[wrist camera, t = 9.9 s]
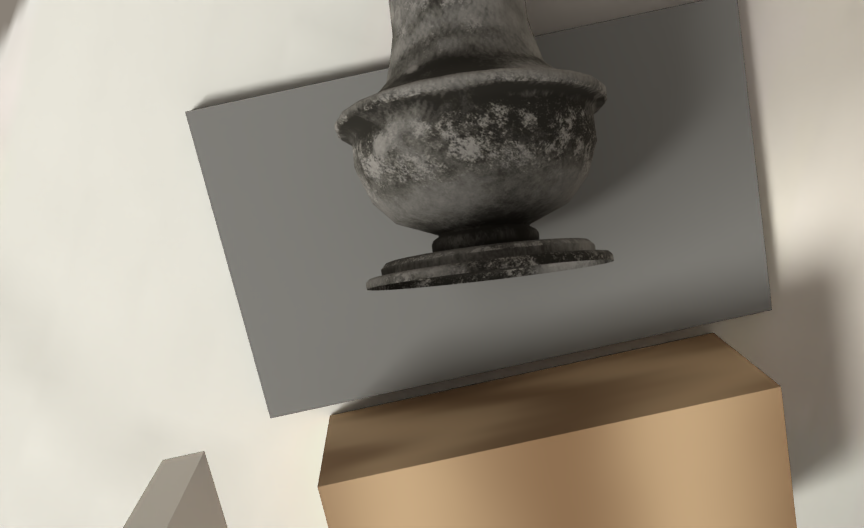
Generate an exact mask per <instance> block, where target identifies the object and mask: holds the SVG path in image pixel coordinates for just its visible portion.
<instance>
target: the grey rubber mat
mask: <svg viewBox="0 0 864 528" xmlns="http://www.w3.org/2000/svg"><path fill="white" fill-rule="evenodd" d="M534 39H535V41H536V43H537V46H538V48H539V51H540V53H541V55H542V58H543V60H544V62H546V63H547V64H549V65H550V66H552V67H553V68H555V69H563V70H571V71H575V72H579V73H583V74H587V75H591V76H592V77H594V78H595V79H597V80H598V81H600V82H601V83H603V84H604V85H605V86H606V94H607V101H606V102H605V104H604V105H603V106H602V107H601V108H600V109H599V111H598V112H597V113H595V114H594V121H595V129H596V137H597V143H596V147H595V151H594V154H593V158H592V162H591V166H590V170H589V174H588V177H587V178H586V179H585V181H584V182H583V183H582V185H581V186H580V188H579V189H578V190H577V192H576V193H575V195H574V196H573V197H572V199H571V200H570V201H569V202H568V203H567V204H566V205H564V206H562V207H561V208H559V209H557V210H555V211H553V212H551V213H550V214H548V215H546V216H544V217H542V218H540V219H539V220H537V221H535V222H533V223H531V224H530V226H531V227H533V228H535V229H537V231H538V232H539V239H555V238H586V239H588V240H590V241H591V242H592V243H594V245H595V249H596V250H608V251H610V252H611V253H612V254H613V258H614V261H612V262H609V263H605V264H600V265H595V266H589V267H583V268H577V269H571V270H564V271H557V272H550V273H543V274H536V275H528V276H521V277H513V278H505V279H497V280H488V281H479V282H471V283H462V284H452V285H443V286H432V287H422V288H410V289H397V290H379V291H372V290H367V288H366V283H367V282H368V280H369V279H371V278H374V277H377V276H381V275H382V273H381V269H382V268H383V267H384V265H385V264H386V263H388V262H391V261H393V260H397V259H401V258H405V257H411V256H416V255H421V254H426V253H432V243H433V241H434V240H435V239H437V238H438V237H439V236H438V235H435V234H431V233H427V232H423V231H420V230H416V229H412V228H409V227H405V226H401V225H398V224H396V223H394V222H393V221H392V220H391V219H390V218H389V217H387V216H386V215H385V214H384V213H383V212H382V211H381V210H379V209H378V208H377V207H376V206H375V205H374V204H373V203H372V201H371V199H370V197H369V196H368V194H367V192H366V190H365V188H364V186H363V184H362V182H361V180H360V178H359V176H358V175H357V173H356V170H355V168H354V159H353V150H352V146H351V145H349V144H347V143H346V142H344V141H342V140H341V139H340V138H339V137H338V135H337V133H336V131H335V126H334V124H335V123H336V121H337V119H338V118H339V116H340V115H341V113H342V112H343V111H344V110H345V109H347V108H348V107H350V106H351V105H353V104H354V103H356V102H357V101H359V100H361V99H364V98H366V97H369V96H371V95H374V94H376V93H378V92H379V91H380V90H381V89H382V87H383V86H384V85H385V84H386V82H387V75H388V69H389V68H386V69H382V70H377V71H373V72H368V73H363V74H359V75H354V76H349V77H345V78H340V79H335V80H331V81H326V82H321V83H317V84H312V85H307V86H303V87H298V88H294V89H289V90H284V91H280V92H275V93H270V94H266V95H261V96H256V97H252V98H247V99H242V100H238V101H233V102H228V103H224V104H219V105H215V106H210V107H205V108H201V109H196V110H191V111H187V112H185V113H186V116H187V120H188V124H189V127H190V131H191V134H192V138H193V142H194V145H195V149H196V152H197V156H198V159H199V163H200V167H201V170H202V174H203V177H204V181H205V185H206V188H207V192H208V195H209V199H210V203H211V206H212V210H213V213H214V217H215V221H216V224H217V228H218V231H219V235H220V238H221V242H222V246H223V249H224V253H225V256H226V260H227V264H228V267H229V271H230V274H231V278H232V282H233V285H234V289H235V292H236V296H237V300H238V303H239V307H240V310H241V314H242V318H243V321H244V325H245V328H246V332H247V335H248V339H249V343H250V346H251V350H252V353H253V357H254V361H255V364H256V368H257V371H258V375H259V379H260V382H261V386H262V389H263V393H264V397H265V400H266V404H267V407H268V411H269V414H270V418H274V417H279V416H284V415H288V414H293V413H297V412H302V411H307V410H311V409H316V408H321V407H325V406H330V405H334V404H339V403H344V402H348V401H353V400H357V399H362V398H367V397H371V396H376V395H381V394H385V393H390V392H394V391H399V390H404V389H408V388H413V387H418V386H422V385H427V384H431V383H436V382H441V381H445V380H450V379H455V378H459V377H464V376H468V375H473V374H478V373H482V372H487V371H492V370H496V369H501V368H505V367H510V366H515V365H519V364H524V363H529V362H533V361H538V360H542V359H547V358H552V357H556V356H561V355H566V354H570V353H575V352H579V351H584V350H589V349H593V348H598V347H603V346H607V345H612V344H616V343H621V342H626V341H630V340H635V339H640V338H644V337H649V336H653V335H658V334H663V333H667V332H672V331H676V330H681V329H686V328H690V327H695V326H700V325H704V324H709V323H713V322H718V321H723V320H727V319H732V318H737V317H741V316H746V315H750V314H755V313H760V312H764V311H769V310H772V306H771V297H770V288H769V279H768V270H767V261H766V252H765V243H764V234H763V225H762V216H761V207H760V199H759V190H758V181H757V172H756V163H755V154H754V145H753V136H752V127H751V118H750V109H749V100H748V91H747V82H746V73H745V64H744V55H743V46H742V37H741V28H740V20H739V11H738V2H737V0H702V1H698V2H693V3H688V4H684V5H679V6H675V7H670V8H665V9H661V10H656V11H651V12H647V13H642V14H637V15H633V16H628V17H623V18H619V19H614V20H609V21H605V22H600V23H596V24H591V25H586V26H582V27H577V28H572V29H568V30H563V31H558V32H554V33H549V34H544V35H540V36H535V37H534Z"/></svg>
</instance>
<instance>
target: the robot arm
mask: <svg viewBox="0 0 864 528" xmlns="http://www.w3.org/2000/svg"><path fill="white" fill-rule="evenodd" d="M123 528H227V524H226V521H225V518H224V515H223V511H222V508H221V505H220V501H219V498H218V495H217V491H216V488H215V485H214V482H213V478H212V475H211V472H210V468H209V465H208V462H207V458H206V455H205V452H204V451H202V452H198V453H193V454H188V455H184V456H179V457H175V458H170V459H165V460H162V462H161V464H160V466H159V467H158V469H157V471H156V472H155V474H154V476H153V478H152V479H151V481H150V483H149V484H148V486H147V488H146V489H145V491H144V493H143V495H142V496H141V498H140V500H139V501H138V503H137V505H136V507H135V508H134V510H133V512H132V513H131V515H130V517H129V518H128V520H127V522H126V524H125V525H124V527H123Z"/></svg>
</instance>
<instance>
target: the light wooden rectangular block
mask: <svg viewBox="0 0 864 528" xmlns="http://www.w3.org/2000/svg"><path fill="white" fill-rule="evenodd" d="M318 490H319V494H320V498H321V501H322V505H323V509H324V512H325V516H326V520H327V524H328V527H329V528H797V525H796V516H795V507H794V498H793V489H792V480H791V471H790V463H789V454H788V445H787V436H786V427H785V418H784V409H783V400H782V391H781V386H780V385H778V384H777V383H776V382H775V381H773V380H772V379H771V378H769V377H768V376H767V375H766V374H764V373H763V372H762V371H761V370H759V369H758V368H757V367H756V366H754V365H753V364H752V363H751V362H749V361H748V360H747V359H746V358H744V357H743V356H742V355H741V354H739V353H738V352H737V351H736V350H734V349H733V348H732V347H731V346H729V345H728V344H727V343H726V342H724V341H723V340H722V339H721V338H719V337H718V336H717V335H716V334H714V333H710V334H705V335H701V336H696V337H691V338H687V339H682V340H678V341H673V342H668V343H664V344H659V345H654V346H650V347H645V348H641V349H636V350H631V351H627V352H622V353H617V354H613V355H608V356H604V357H599V358H594V359H590V360H585V361H580V362H576V363H571V364H567V365H562V366H557V367H553V368H548V369H543V370H539V371H534V372H530V373H525V374H520V375H516V376H511V377H506V378H502V379H497V380H493V381H488V382H483V383H479V384H474V385H470V386H465V387H460V388H456V389H451V390H446V391H442V392H437V393H433V394H428V395H423V396H419V397H414V398H409V399H405V400H400V401H396V402H391V403H386V404H382V405H377V406H372V407H368V408H363V409H359V410H354V411H349V412H345V413H340V414H335V415H331V416H330V418H329V424H328V430H327V436H326V442H325V447H324V453H323V459H322V465H321V471H320V476H319V482H318Z"/></svg>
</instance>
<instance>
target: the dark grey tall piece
mask: <svg viewBox="0 0 864 528" xmlns="http://www.w3.org/2000/svg"><path fill="white" fill-rule="evenodd" d="M389 7H390V15H391V24H392V33H393V39H392V49H391V57H390V63H389V69H388V75H387V82H386V84H385V85H384V86H383V87H382V89H381V90H380V91H379V92H378V93H376V94H374V95H371V96H369V97H366V98H364V99H361V100H359V101H357V102H356V103H354V104H353V105H351V106H350V107H348V108H347V109H345V110H344V111H343V112H342V113H341V115H340V116H339V118H338V119H337V121H336V123H335V124H334V126H335V131H336V133H337V135H338V137H339V138H340V139H341V140H342V141H344V142H346V143H347V144H349V145H351V146H352V150H353V159H354V168H355V170H356V173H357V175H358V176H359V178H360V180H361V182H362V184H363V186H364V188H365V190H366V192H367V194H368V196H369V197H370V199H371V201H372V203H373V204H374V205H375V206H376V207H377V208H378V209H379V210H381V211H382V212H383V213H384V214H385V215H386V216H387V217H389V218H390V219H391V220H392V221H393V222H394V223H396V224H398V225H401V226H405V227H409V228H412V229H416V230H420V231H423V232H427V233H431V234H435V235H438V236H439V237H438V238H437V239H435V240H434V241H433V243H432V253H426V254H421V255H416V256H411V257H405V258H401V259H397V260H393V261H391V262H388V263H386V264H385V265H384V267H383V268H382V269H381V273H382V275H381V276H377V277H374V278H371V279H369V280H368V282H367V283H366V288H367V290H372V291H379V290H397V289H410V288H422V287H432V286H443V285H452V284H462V283H471V282H479V281H488V280H497V279H505V278H513V277H521V276H528V275H536V274H543V273H550V272H557V271H564V270H571V269H577V268H583V267H589V266H595V265H600V264H605V263H609V262H612V261H614V258H613V254H612V253H611V252H610V251H608V250H596V249H595V245H594V243H592V242H591V241H590V240H588V239H586V238H555V239H539V232H538V231H537V229H535V228H533V227H531V226H530V224H531V223H533V222H535V221H537V220H539V219H540V218H542V217H544V216H546V215H548V214H550V213H551V212H553V211H555V210H557V209H559V208H561V207H562V206H564V205H566V204H567V203H568V202H569V201H570V200H571V199H572V197H573V196H574V195H575V193H576V192H577V190H578V189H579V188H580V186H581V185H582V183H583V182H584V181H585V179H586V178H587V177H588V174H589V170H590V166H591V162H592V158H593V154H594V151H595V147H596V143H597V137H596V129H595V121H594V114H595V113H597V112H598V111H599V109H600V108H601V107H602V106H603V105H604V104H605V102H606V101H607V94H606V86H605V85H604V84H603V83H601V82H600V81H598V80H597V79H595V78H594V77H592V76H591V75H587V74H583V73H579V72H575V71H571V70H563V69H555V68H553V67H552V66H550V65H549V64H547V63H546V62H544V60H543V58H542V55H541V53H540V51H539V48H538V46H537V43H536V41H535V39H534V36H533V34H532V31H531V28H530V25H529V22H528V19H527V12H526V4H525V0H389Z"/></svg>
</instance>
